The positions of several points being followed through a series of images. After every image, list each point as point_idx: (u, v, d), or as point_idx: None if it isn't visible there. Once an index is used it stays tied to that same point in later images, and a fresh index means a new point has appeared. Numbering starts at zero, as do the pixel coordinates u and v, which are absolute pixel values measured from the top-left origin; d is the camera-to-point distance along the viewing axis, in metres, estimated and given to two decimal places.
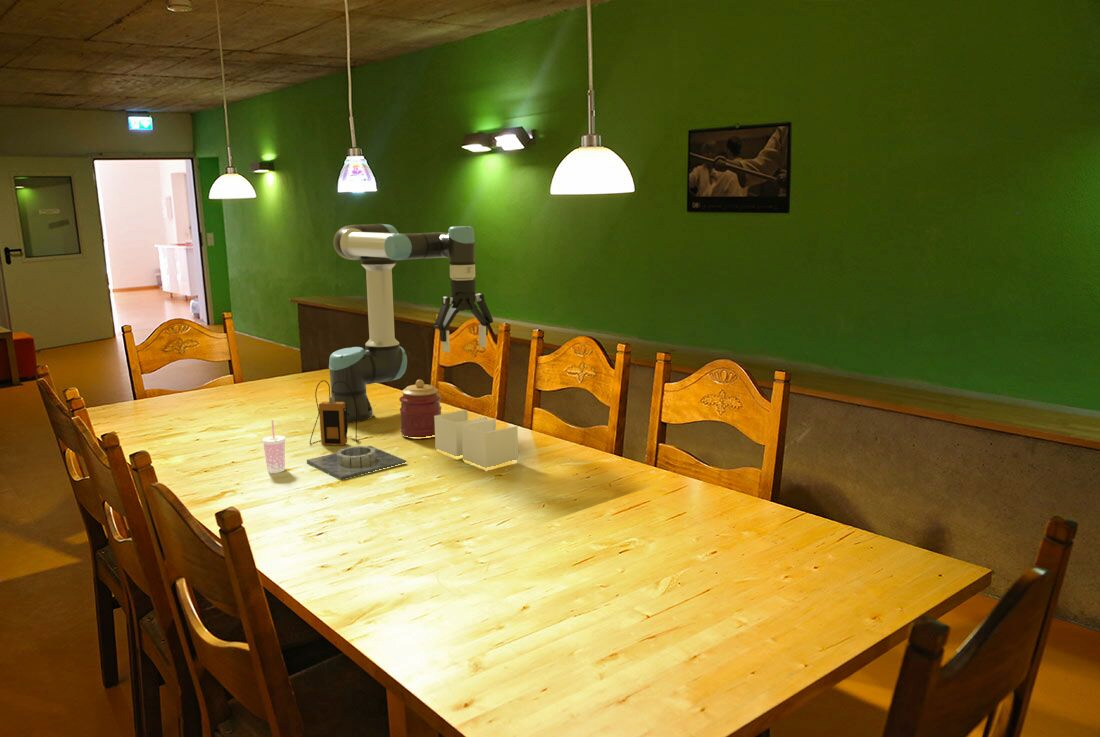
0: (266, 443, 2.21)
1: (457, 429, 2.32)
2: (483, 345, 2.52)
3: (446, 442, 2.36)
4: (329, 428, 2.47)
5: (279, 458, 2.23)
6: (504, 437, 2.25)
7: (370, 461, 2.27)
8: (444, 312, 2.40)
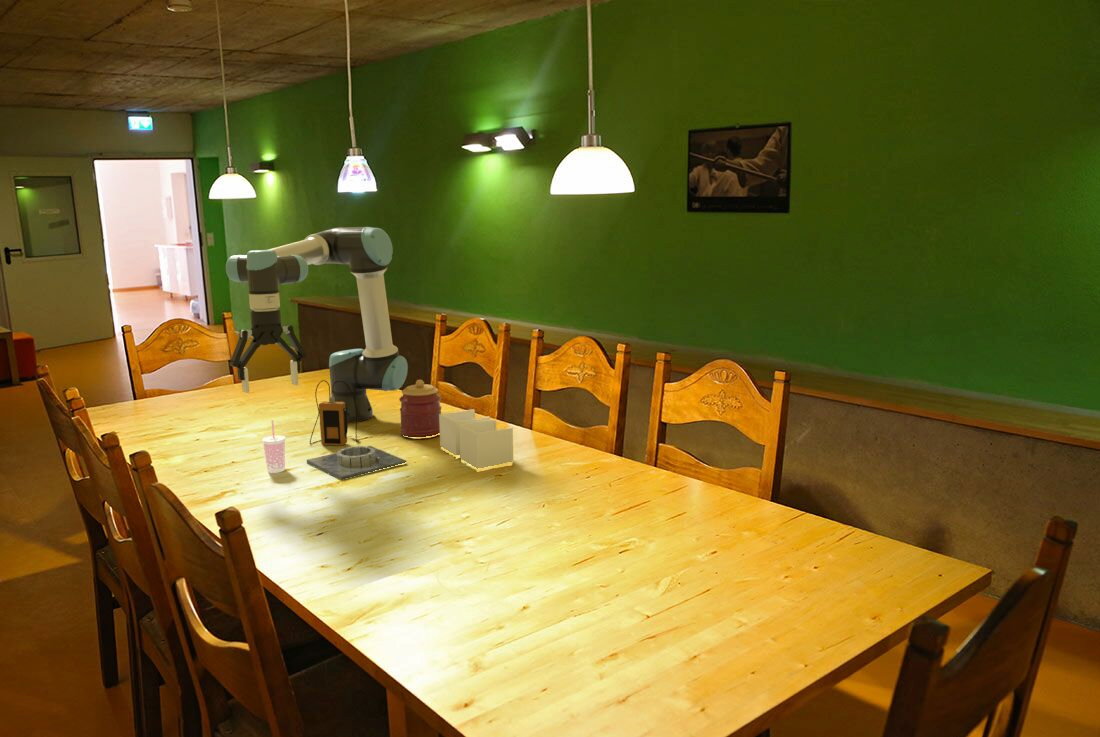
0: (266, 443, 2.21)
1: (456, 428, 2.32)
2: (294, 383, 2.24)
3: (448, 441, 2.37)
4: (329, 428, 2.47)
5: (279, 458, 2.23)
6: (497, 439, 2.24)
7: (370, 461, 2.27)
8: (240, 347, 2.13)
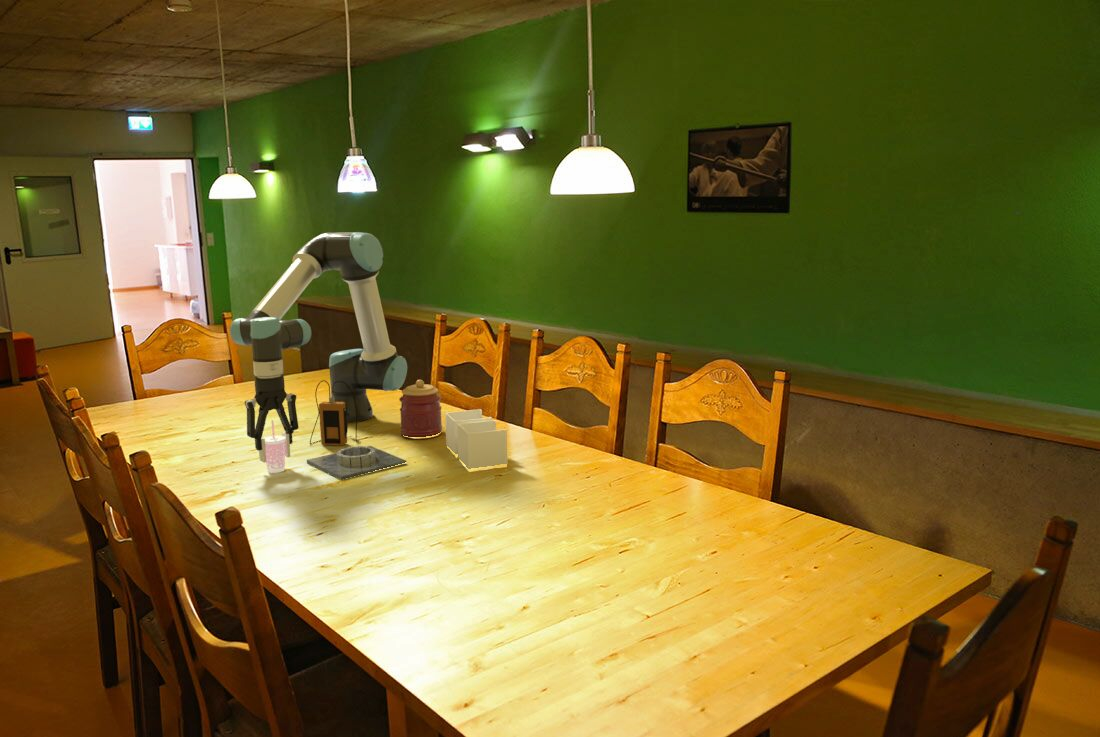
0: (266, 443, 2.21)
1: (456, 428, 2.33)
2: (287, 455, 2.26)
3: (450, 439, 2.39)
4: (329, 428, 2.47)
5: (279, 458, 2.23)
6: (490, 440, 2.23)
7: (370, 461, 2.27)
8: (251, 419, 2.17)
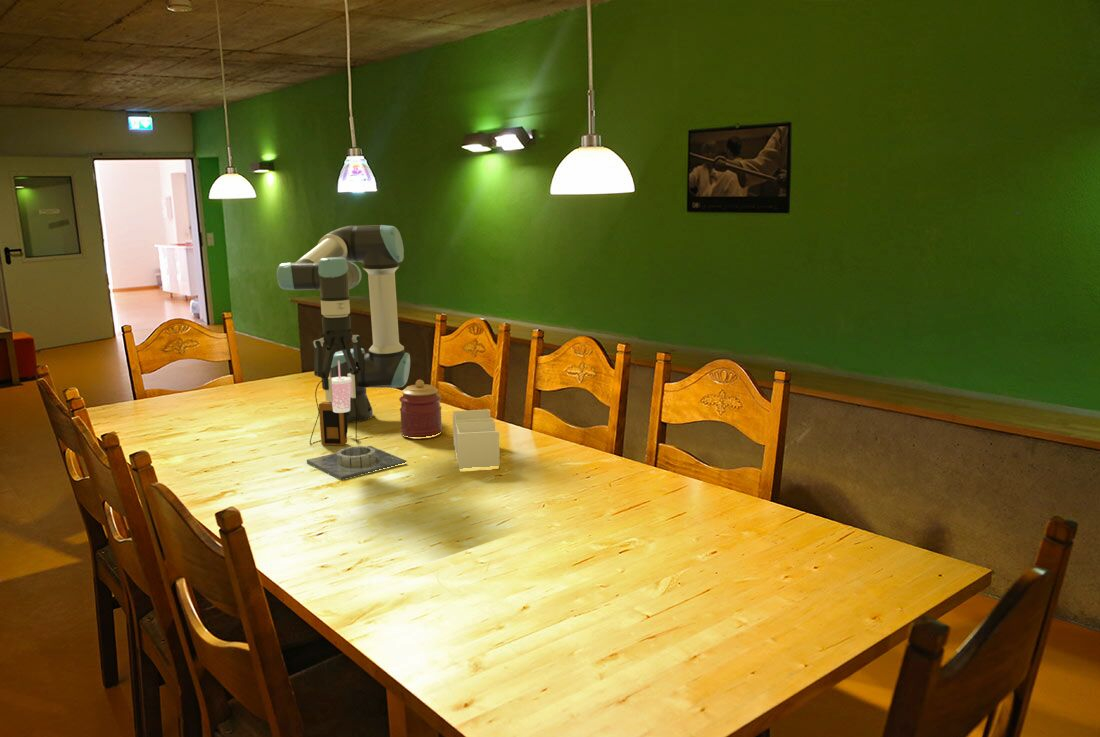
0: (333, 383, 2.22)
1: None
2: (352, 396, 2.27)
3: (454, 438, 2.40)
4: (329, 428, 2.47)
5: (345, 398, 2.24)
6: (481, 441, 2.22)
7: (370, 461, 2.27)
8: (319, 358, 2.19)
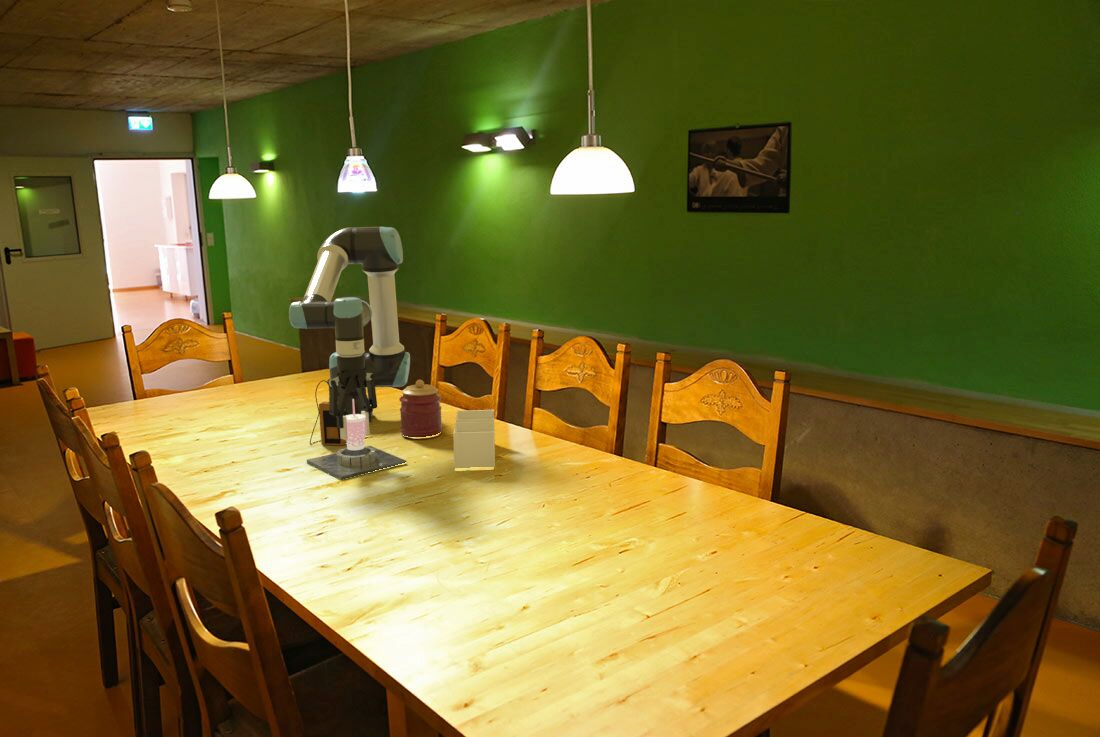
0: (347, 421, 2.25)
1: None
2: (366, 433, 2.30)
3: None
4: (329, 428, 2.47)
5: (360, 436, 2.27)
6: (477, 441, 2.22)
7: (370, 461, 2.27)
8: (334, 397, 2.22)
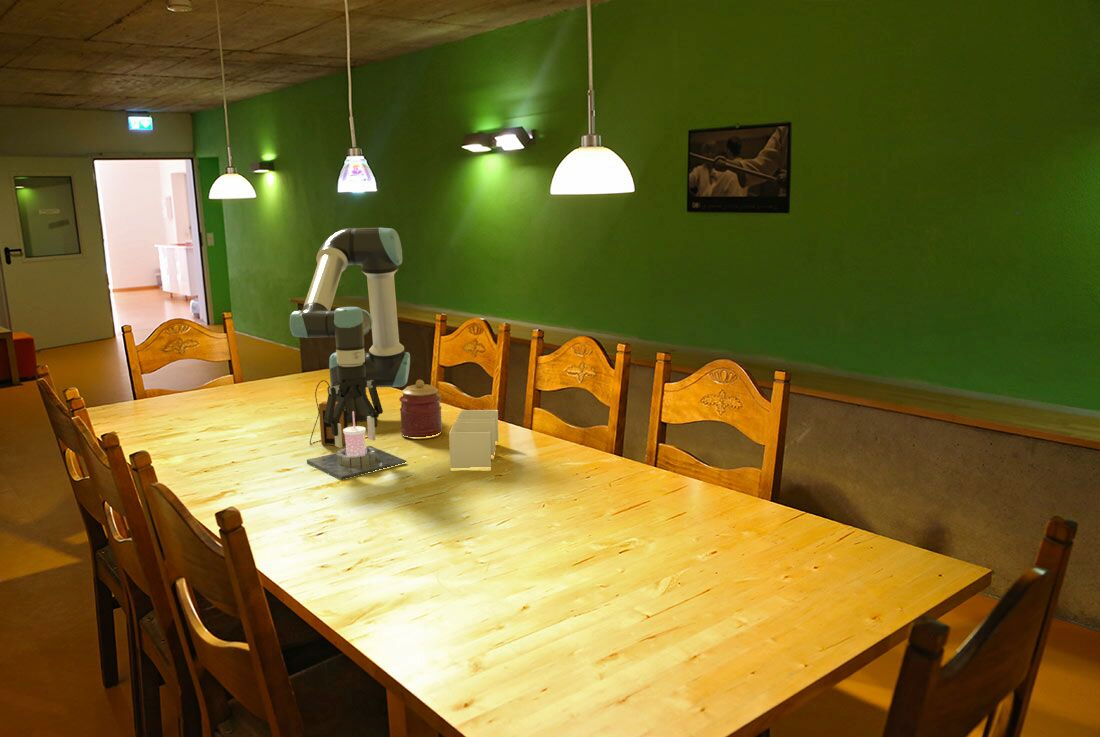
0: (348, 433, 2.26)
1: None
2: (372, 438, 2.31)
3: None
4: (329, 428, 2.47)
5: (360, 448, 2.28)
6: (472, 441, 2.21)
7: (370, 461, 2.27)
8: (331, 404, 2.21)
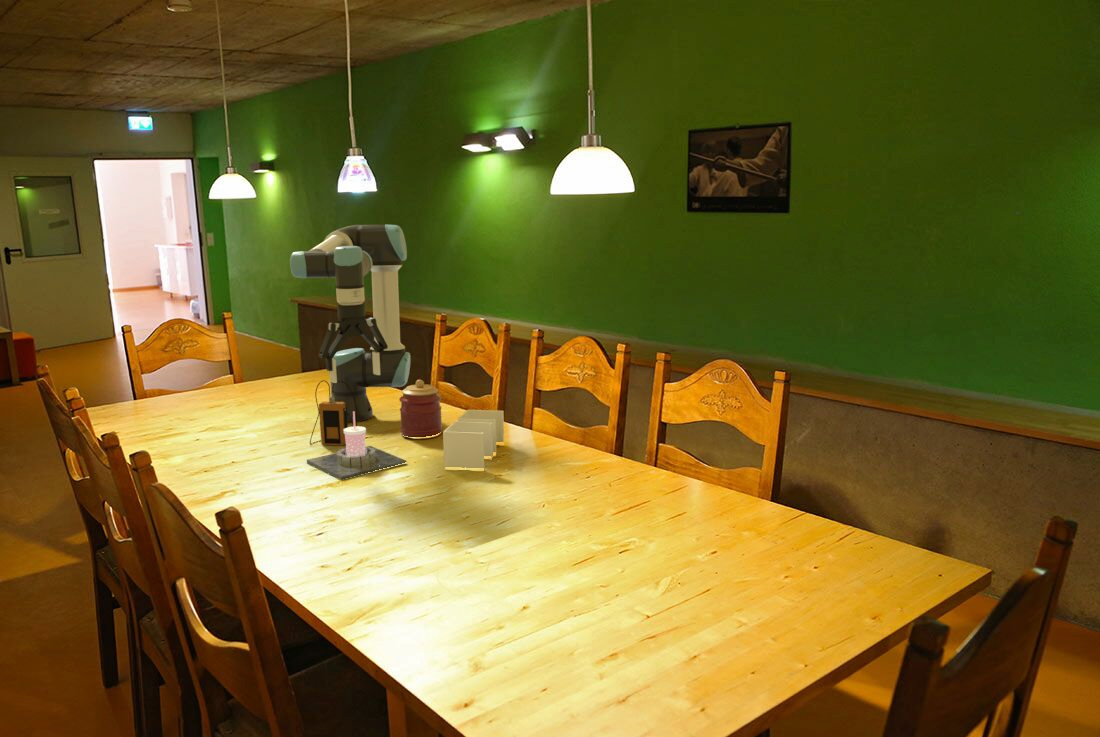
0: (348, 433, 2.26)
1: None
2: (377, 373, 2.35)
3: None
4: (329, 428, 2.47)
5: (360, 448, 2.28)
6: (465, 441, 2.22)
7: (370, 461, 2.27)
8: (329, 340, 2.23)
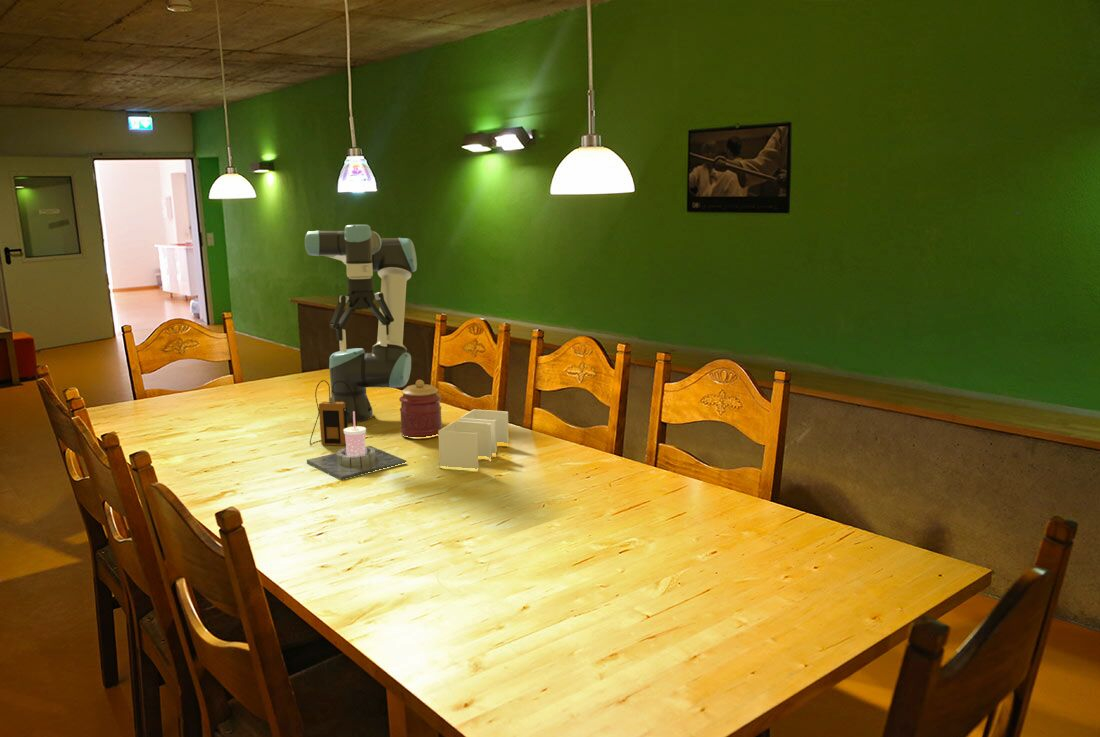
0: (348, 433, 2.26)
1: None
2: (383, 344, 2.50)
3: None
4: (329, 428, 2.47)
5: (360, 448, 2.28)
6: (460, 441, 2.22)
7: (370, 461, 2.27)
8: (339, 311, 2.39)
